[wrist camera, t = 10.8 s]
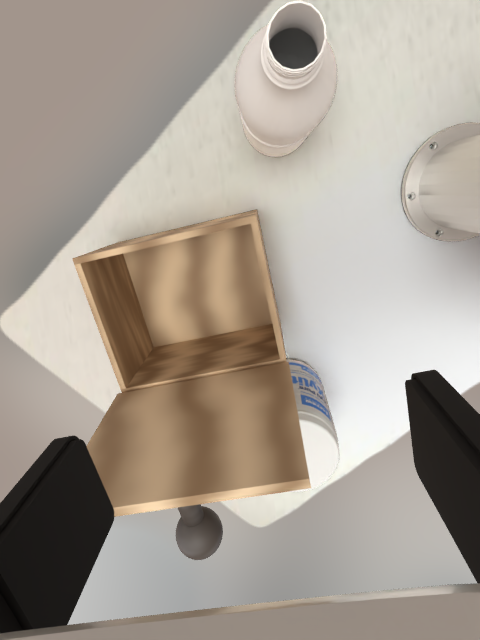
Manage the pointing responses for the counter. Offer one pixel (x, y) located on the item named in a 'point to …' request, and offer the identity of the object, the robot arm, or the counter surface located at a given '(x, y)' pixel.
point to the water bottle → (285, 79)
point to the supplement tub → (314, 424)
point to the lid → (201, 448)
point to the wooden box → (185, 302)
